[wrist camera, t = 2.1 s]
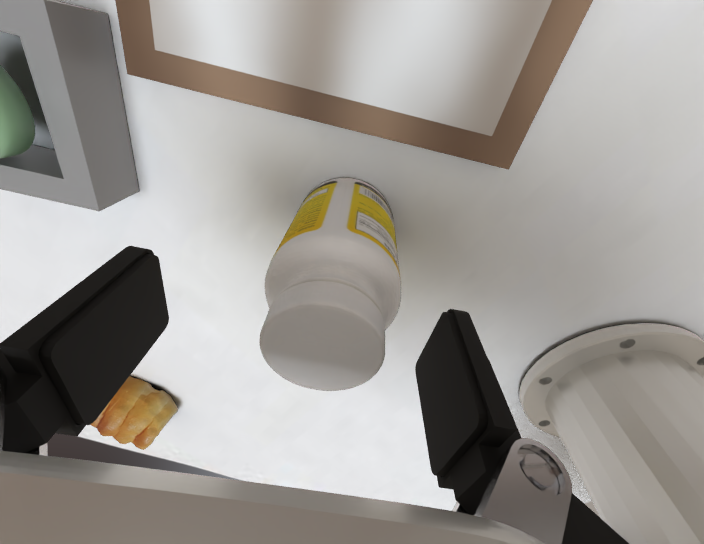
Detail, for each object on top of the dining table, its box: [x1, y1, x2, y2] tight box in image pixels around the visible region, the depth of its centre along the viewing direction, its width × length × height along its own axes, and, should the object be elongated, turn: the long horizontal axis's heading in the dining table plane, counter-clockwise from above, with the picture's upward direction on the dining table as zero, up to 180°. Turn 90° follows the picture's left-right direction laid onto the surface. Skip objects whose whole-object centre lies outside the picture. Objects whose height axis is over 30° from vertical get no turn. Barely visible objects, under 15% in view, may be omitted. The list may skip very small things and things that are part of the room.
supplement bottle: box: [260, 178, 401, 391], centre depth 14 cm, size 5×5×10 cm
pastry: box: [90, 376, 178, 450], centre depth 27 cm, size 9×7×4 cm
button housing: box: [0, 0, 139, 211], centre depth 14 cm, size 8×8×3 cm
